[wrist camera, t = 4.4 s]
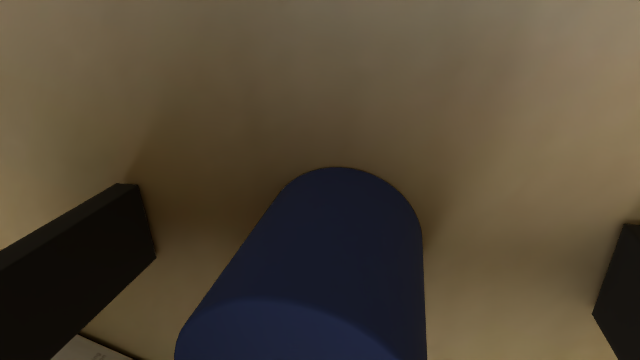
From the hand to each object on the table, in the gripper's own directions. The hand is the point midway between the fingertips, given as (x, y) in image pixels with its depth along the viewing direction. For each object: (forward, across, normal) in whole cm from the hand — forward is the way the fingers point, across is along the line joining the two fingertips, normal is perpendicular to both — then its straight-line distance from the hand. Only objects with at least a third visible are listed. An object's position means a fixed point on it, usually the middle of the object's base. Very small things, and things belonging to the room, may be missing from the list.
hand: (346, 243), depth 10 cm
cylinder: (0, 0, 0) cm, 0 cm away
